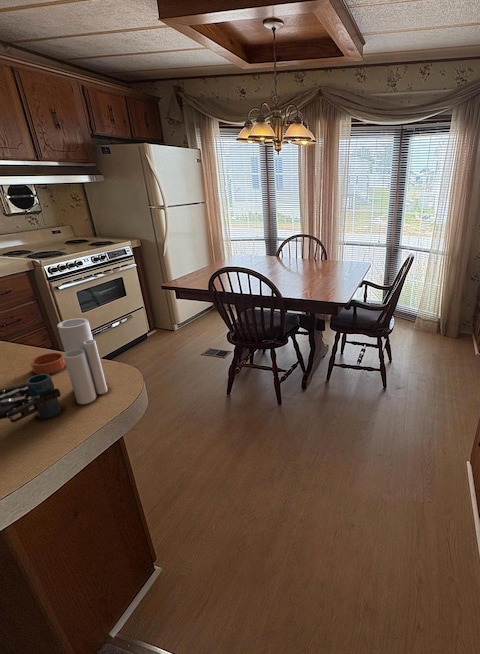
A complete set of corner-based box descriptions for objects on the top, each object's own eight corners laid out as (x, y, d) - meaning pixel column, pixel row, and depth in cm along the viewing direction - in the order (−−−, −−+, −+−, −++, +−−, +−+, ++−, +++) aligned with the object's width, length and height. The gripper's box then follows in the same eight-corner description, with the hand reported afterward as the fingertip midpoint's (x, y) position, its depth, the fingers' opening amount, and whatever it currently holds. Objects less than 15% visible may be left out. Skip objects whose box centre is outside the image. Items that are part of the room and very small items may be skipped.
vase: (75, 385, 97) (56, 321, 90) (104, 378, 101) (89, 316, 94) (77, 406, 89) (56, 337, 81) (109, 397, 93) (92, 330, 85)
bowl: (42, 378, 100) (39, 367, 99) (28, 370, 104) (24, 360, 102) (71, 366, 107) (68, 356, 106) (57, 359, 110) (54, 350, 109)
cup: (39, 420, 83) (27, 386, 79) (37, 411, 86) (25, 377, 83) (62, 413, 86) (51, 379, 82) (59, 404, 89) (48, 371, 85)
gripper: (-40, 421, 68) (61, 386, 80) (-50, 393, 76) (43, 365, 89) (-27, 450, 71) (69, 412, 83) (-38, 420, 79) (51, 389, 92)
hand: (55, 388), depth 86 cm, fingers closed on cup, 4 cm apart
